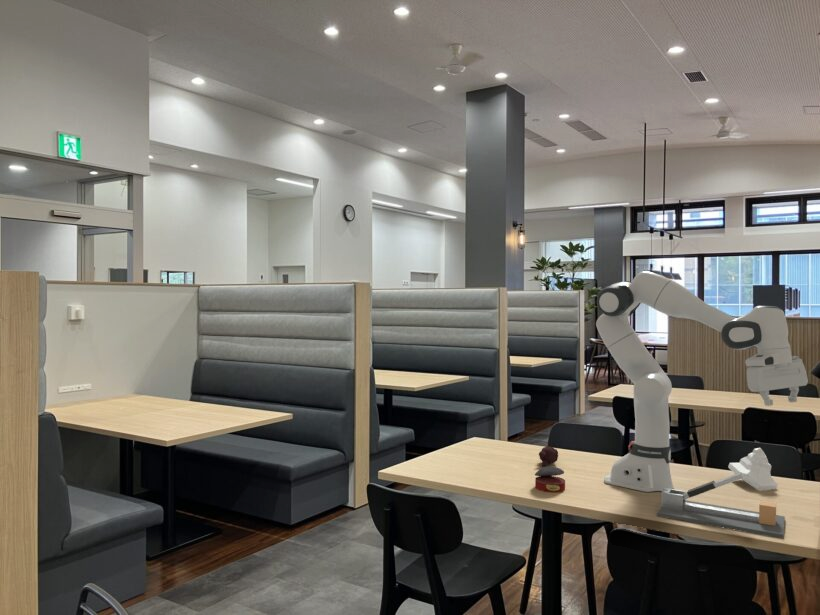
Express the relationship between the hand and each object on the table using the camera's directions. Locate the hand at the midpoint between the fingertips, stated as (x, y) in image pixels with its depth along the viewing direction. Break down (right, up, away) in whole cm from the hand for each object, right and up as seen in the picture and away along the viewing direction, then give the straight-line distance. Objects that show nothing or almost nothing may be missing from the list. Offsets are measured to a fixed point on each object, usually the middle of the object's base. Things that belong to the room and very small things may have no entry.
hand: (781, 403), depth 194 cm
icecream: (-58, -32, +56) cm, 87 cm away
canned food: (-65, -32, +22) cm, 76 cm away
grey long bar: (-22, -31, -6) cm, 39 cm away
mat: (-21, -32, -6) cm, 39 cm away
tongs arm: (-24, -25, -5) cm, 35 cm away
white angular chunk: (+8, -33, +30) cm, 45 cm away
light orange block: (-11, -32, -13) cm, 36 cm away
